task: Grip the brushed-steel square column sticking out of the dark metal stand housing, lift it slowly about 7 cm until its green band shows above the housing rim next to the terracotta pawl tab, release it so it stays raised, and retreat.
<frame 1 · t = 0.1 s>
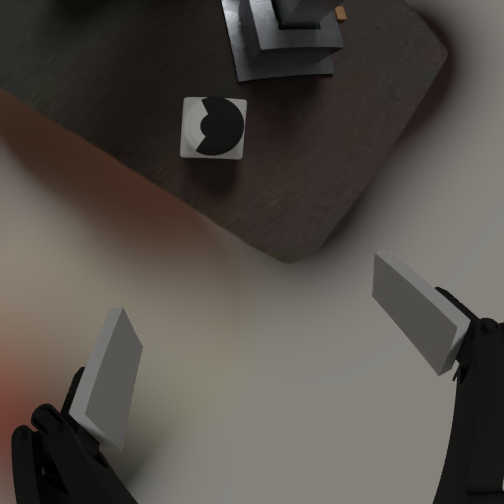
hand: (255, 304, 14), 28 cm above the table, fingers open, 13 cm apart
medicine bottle: (213, 129, 35), on the table
stand housing: (278, 34, 30), on the table
column: (300, 6, 21), point 11 cm above the table, slide at 0.0 cm
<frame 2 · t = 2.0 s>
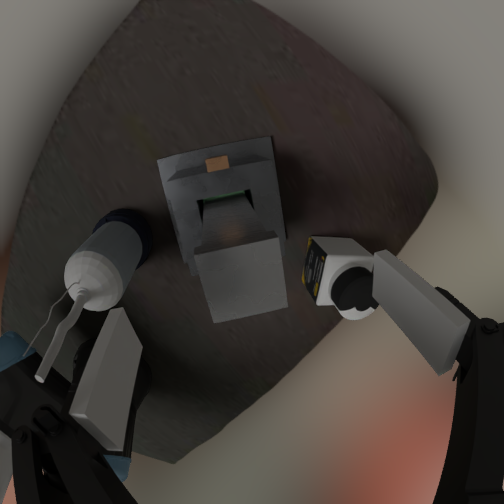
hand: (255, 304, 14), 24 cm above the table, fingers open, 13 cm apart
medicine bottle: (326, 258, 41), on the table
stand housing: (224, 200, 35), on the table
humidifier: (124, 237, 35), on the table
column: (230, 225, 25), point 11 cm above the table, slide at 0.0 cm
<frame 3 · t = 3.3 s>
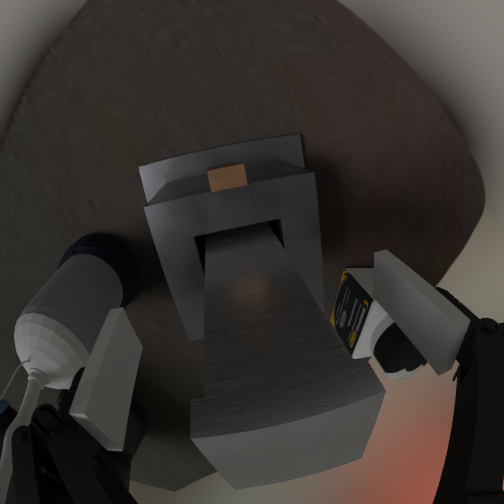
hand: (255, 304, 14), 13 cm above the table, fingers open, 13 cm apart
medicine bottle: (361, 293, 31), on the table
stand housing: (233, 222, 26), on the table
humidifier: (101, 270, 26), on the table
column: (248, 279, 16), point 11 cm above the table, slide at 0.0 cm
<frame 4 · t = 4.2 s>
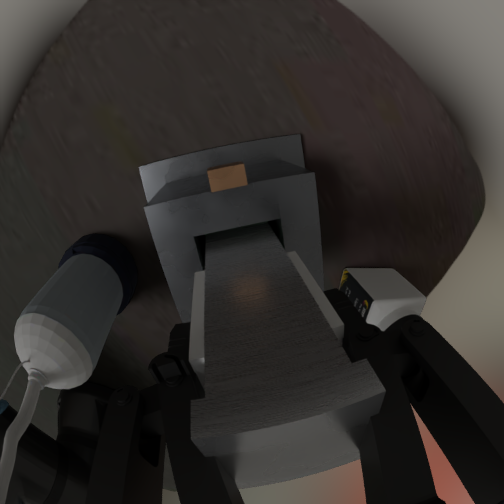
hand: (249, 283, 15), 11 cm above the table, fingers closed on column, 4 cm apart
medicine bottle: (361, 293, 31), on the table
stand housing: (233, 222, 26), on the table
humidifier: (101, 270, 26), on the table
column: (248, 279, 16), point 11 cm above the table, slide at 0.0 cm, touching gripper
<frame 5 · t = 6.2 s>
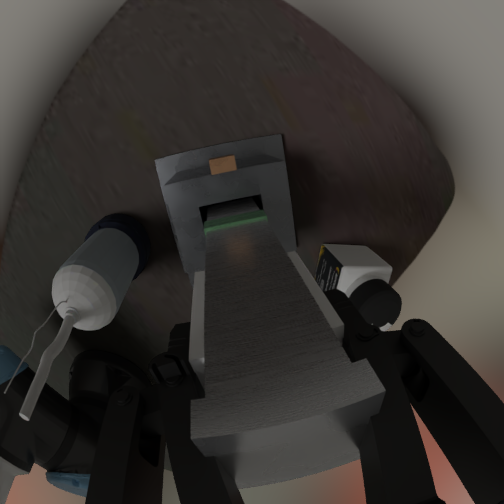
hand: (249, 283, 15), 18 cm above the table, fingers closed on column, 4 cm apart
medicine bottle: (338, 267, 38), on the table
stand housing: (229, 204, 32), on the table
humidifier: (120, 244, 32), on the table
column: (248, 279, 16), point 18 cm above the table, slide at 7.0 cm, touching gripper
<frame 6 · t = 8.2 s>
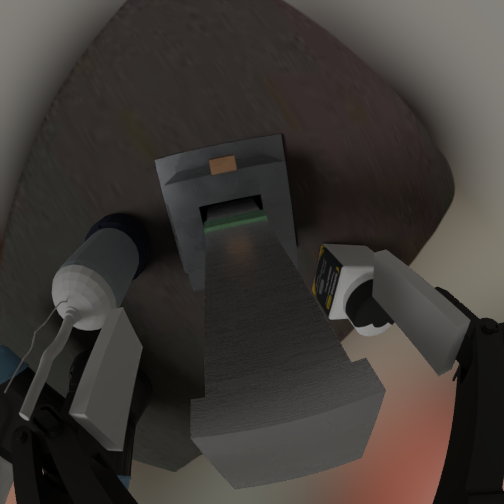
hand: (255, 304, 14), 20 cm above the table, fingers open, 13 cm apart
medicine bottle: (338, 267, 38), on the table
stand housing: (229, 204, 32), on the table
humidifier: (120, 244, 32), on the table
column: (248, 279, 16), point 18 cm above the table, slide at 7.0 cm
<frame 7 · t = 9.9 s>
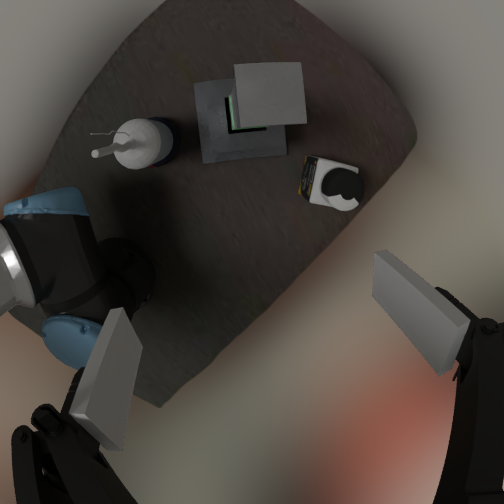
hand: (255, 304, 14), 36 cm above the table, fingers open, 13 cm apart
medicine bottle: (319, 177, 48), on the table
stand housing: (240, 117, 42), on the table
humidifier: (157, 141, 42), on the table
column: (253, 107, 26), point 18 cm above the table, slide at 7.0 cm
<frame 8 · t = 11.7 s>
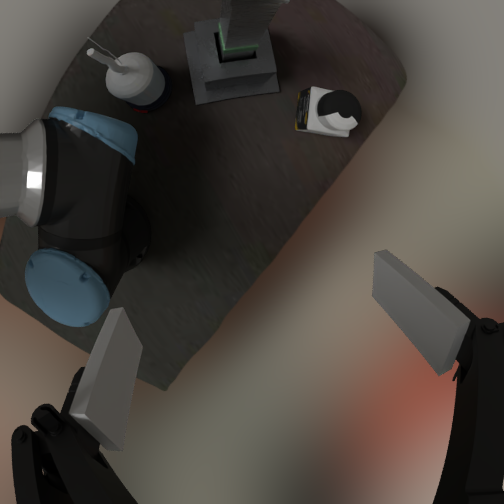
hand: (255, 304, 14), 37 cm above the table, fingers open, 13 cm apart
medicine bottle: (315, 114, 44), on the table
stand housing: (230, 60, 38), on the table
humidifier: (149, 89, 39), on the table
column: (241, 22, 22), point 18 cm above the table, slide at 7.0 cm
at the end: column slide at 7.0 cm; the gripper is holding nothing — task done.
